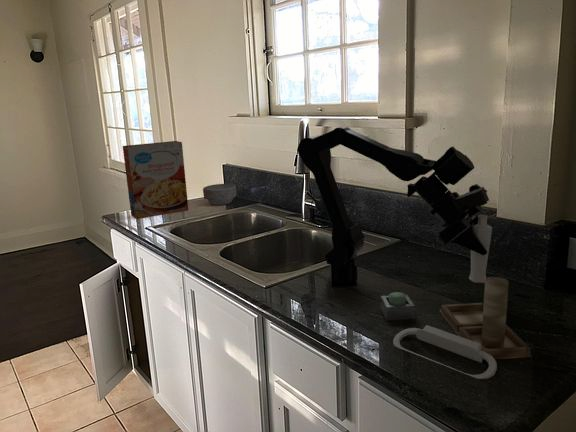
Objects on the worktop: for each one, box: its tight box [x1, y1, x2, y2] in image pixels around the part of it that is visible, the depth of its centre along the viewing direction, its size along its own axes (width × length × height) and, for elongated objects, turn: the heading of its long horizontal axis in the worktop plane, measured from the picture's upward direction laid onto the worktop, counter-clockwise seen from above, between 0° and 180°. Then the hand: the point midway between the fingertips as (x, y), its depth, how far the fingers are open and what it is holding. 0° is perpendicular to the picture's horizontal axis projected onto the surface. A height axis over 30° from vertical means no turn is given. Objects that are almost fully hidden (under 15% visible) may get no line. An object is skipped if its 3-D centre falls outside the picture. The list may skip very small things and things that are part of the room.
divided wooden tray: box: [438, 302, 533, 361], centre depth 100 cm, size 10×21×2 cm, turn 2°
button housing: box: [380, 294, 416, 321], centre depth 109 cm, size 6×6×4 cm
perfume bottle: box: [468, 214, 493, 284], centre depth 111 cm, size 5×4×15 cm
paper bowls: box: [202, 183, 237, 206], centre depth 230 cm, size 15×15×8 cm
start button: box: [388, 291, 407, 305], centre depth 109 cm, size 4×4×4 cm
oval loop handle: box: [392, 324, 498, 380], centre depth 92 cm, size 20×8×4 cm, turn 43°
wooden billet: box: [481, 276, 510, 349], centre depth 93 cm, size 4×4×13 cm
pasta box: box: [122, 140, 189, 220], centre depth 213 cm, size 23×8×30 cm, turn 122°
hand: (487, 250), depth 110 cm, fingers closed on perfume bottle, 4 cm apart
